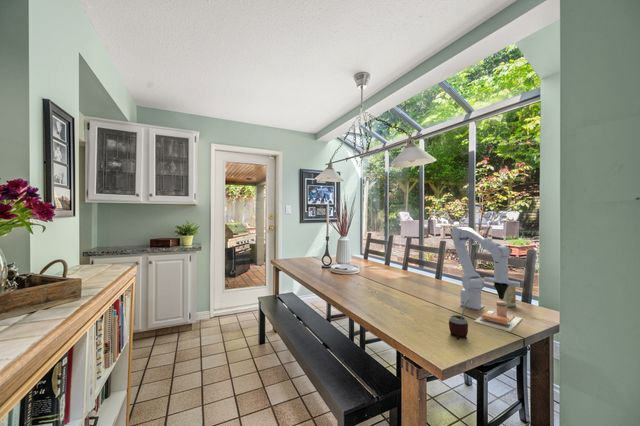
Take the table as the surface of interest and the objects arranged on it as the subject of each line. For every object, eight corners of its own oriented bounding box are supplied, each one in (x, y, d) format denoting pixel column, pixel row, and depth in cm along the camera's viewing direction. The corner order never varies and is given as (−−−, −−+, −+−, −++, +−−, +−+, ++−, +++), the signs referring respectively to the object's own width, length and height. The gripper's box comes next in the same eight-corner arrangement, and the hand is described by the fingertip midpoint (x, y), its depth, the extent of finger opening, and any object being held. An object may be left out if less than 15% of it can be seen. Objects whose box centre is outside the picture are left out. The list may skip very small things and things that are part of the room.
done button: (481, 317, 125) (481, 314, 125) (484, 315, 127) (484, 312, 127) (506, 324, 117) (506, 321, 117) (509, 321, 120) (509, 318, 120)
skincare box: (507, 307, 143) (507, 284, 143) (499, 304, 147) (499, 282, 147) (516, 305, 145) (516, 283, 145) (508, 303, 149) (508, 281, 149)
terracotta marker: (495, 316, 129) (495, 302, 129) (498, 314, 132) (498, 300, 132) (505, 318, 126) (505, 304, 126) (508, 316, 129) (507, 302, 129)
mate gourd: (448, 337, 109) (447, 301, 109) (450, 330, 116) (450, 296, 116) (468, 342, 105) (468, 304, 105) (470, 334, 112) (469, 299, 112)
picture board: (474, 322, 124) (474, 320, 124) (488, 311, 137) (488, 310, 137) (510, 332, 114) (510, 330, 114) (522, 319, 127) (522, 317, 127)
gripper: (481, 269, 132) (481, 297, 131) (517, 274, 121) (517, 304, 121) (486, 267, 136) (486, 294, 136) (520, 272, 125) (521, 300, 125)
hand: (501, 298), depth 129 cm, fingers closed
